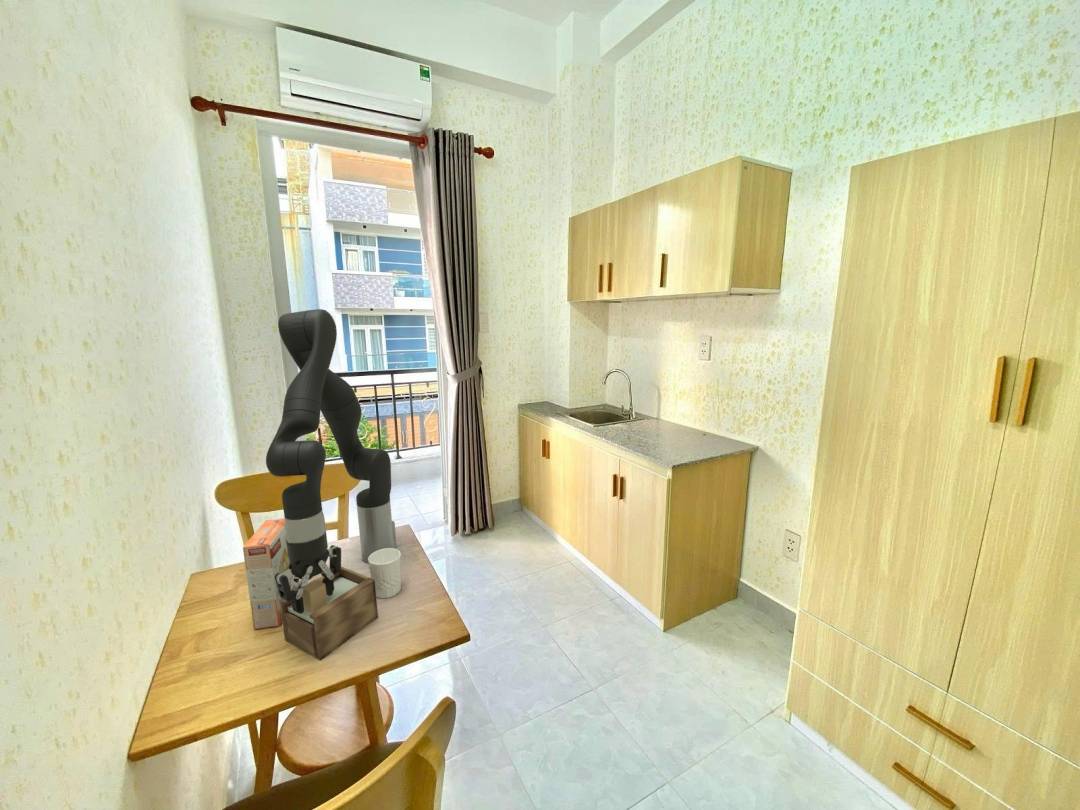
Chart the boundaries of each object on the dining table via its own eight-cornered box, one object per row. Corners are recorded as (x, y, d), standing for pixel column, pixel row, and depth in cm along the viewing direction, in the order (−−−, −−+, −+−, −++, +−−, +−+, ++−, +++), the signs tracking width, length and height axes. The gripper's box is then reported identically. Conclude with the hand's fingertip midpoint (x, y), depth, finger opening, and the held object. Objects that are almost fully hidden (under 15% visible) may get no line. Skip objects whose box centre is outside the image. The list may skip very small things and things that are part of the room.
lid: (340, 579, 106) (337, 557, 105) (369, 592, 101) (367, 569, 100) (288, 610, 95) (284, 586, 93) (318, 626, 90) (315, 600, 89)
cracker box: (282, 626, 100) (270, 543, 96) (253, 631, 99) (239, 547, 94) (300, 590, 113) (290, 516, 109) (274, 593, 112) (263, 519, 108)
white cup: (404, 596, 111) (401, 560, 109) (371, 603, 108) (367, 567, 106) (402, 579, 118) (399, 545, 116) (371, 585, 115) (368, 551, 113)
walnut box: (343, 601, 109) (339, 565, 107) (378, 617, 103) (374, 579, 101) (284, 640, 96) (279, 599, 94) (320, 660, 90) (315, 618, 88)
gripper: (325, 515, 99) (332, 581, 102) (260, 543, 87) (271, 617, 90) (347, 522, 96) (354, 590, 99) (282, 552, 83) (293, 629, 86)
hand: (314, 602), depth 94 cm, fingers open, 6 cm apart
